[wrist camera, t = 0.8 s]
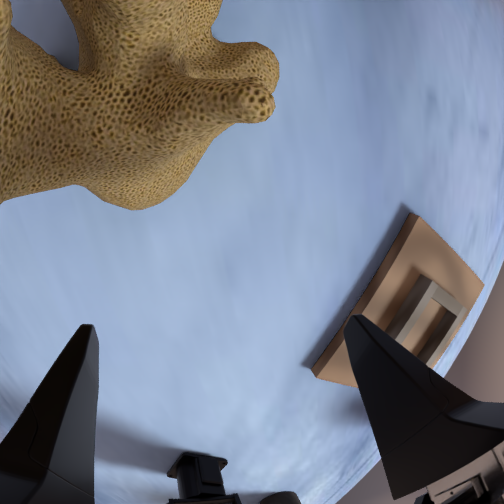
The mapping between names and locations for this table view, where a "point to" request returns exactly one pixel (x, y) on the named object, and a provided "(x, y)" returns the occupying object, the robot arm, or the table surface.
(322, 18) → the table surface
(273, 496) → the travel mug
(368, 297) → the brown flat square board
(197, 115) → the decorative coral
